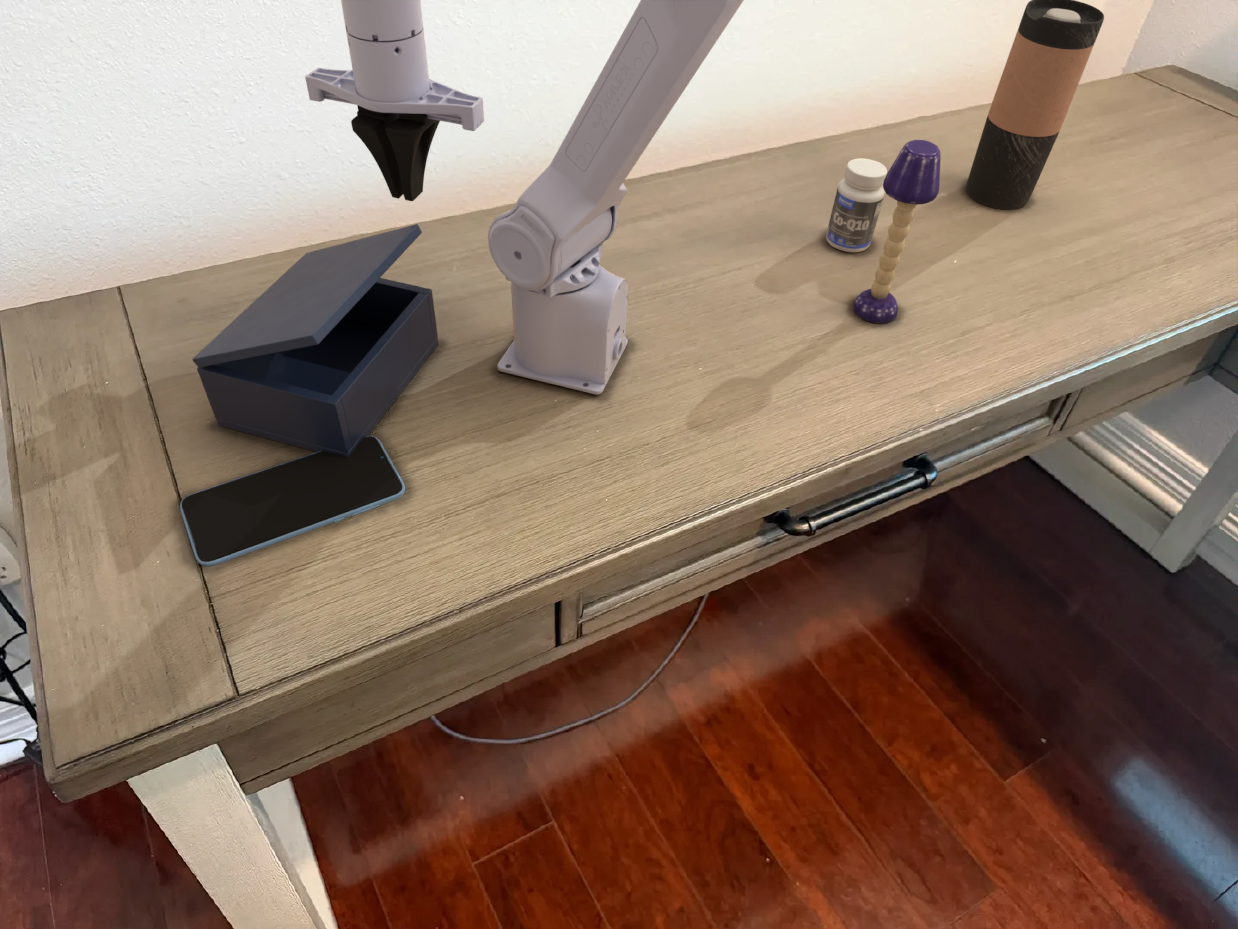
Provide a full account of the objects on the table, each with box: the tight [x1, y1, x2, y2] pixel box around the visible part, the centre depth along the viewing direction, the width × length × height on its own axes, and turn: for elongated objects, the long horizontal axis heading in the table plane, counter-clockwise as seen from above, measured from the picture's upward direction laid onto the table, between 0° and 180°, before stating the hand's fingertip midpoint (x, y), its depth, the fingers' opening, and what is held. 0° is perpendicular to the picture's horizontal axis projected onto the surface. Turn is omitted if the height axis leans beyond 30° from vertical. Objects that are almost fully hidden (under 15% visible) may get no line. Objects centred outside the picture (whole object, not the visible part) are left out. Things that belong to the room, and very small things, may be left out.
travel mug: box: [965, 0, 1105, 210], centre depth 96 cm, size 8×8×20 cm
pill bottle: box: [825, 157, 888, 253], centre depth 91 cm, size 5×5×8 cm
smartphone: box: [179, 435, 406, 567], centre depth 66 cm, size 7×1×15 cm
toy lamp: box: [852, 139, 941, 324], centre depth 79 cm, size 5×5×17 cm
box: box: [196, 277, 439, 457], centre depth 73 cm, size 12×16×6 cm
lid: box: [192, 223, 423, 368], centre depth 68 cm, size 12×16×1 cm
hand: (407, 194), depth 77 cm, fingers closed
